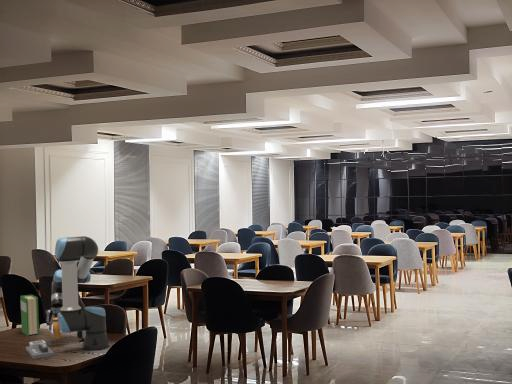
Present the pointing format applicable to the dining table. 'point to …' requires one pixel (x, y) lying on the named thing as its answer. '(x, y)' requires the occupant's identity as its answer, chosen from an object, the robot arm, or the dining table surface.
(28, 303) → the hardback book
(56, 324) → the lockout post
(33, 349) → the breaker board
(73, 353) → the dining table surface
